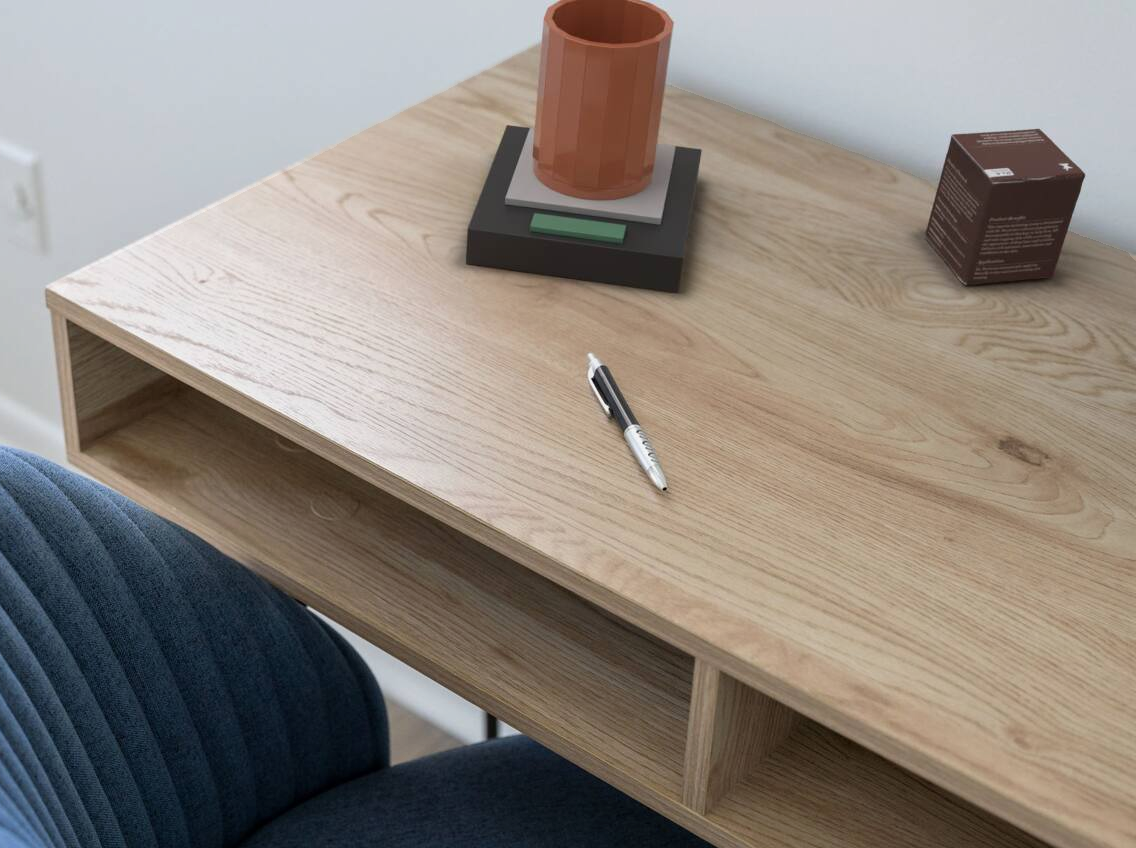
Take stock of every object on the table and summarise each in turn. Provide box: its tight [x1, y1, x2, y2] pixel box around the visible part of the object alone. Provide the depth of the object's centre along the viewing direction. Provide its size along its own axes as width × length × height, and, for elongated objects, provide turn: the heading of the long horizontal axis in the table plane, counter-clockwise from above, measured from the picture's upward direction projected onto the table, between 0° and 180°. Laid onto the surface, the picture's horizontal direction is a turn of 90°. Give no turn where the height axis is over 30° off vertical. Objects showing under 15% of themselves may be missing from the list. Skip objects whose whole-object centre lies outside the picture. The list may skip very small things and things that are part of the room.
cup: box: [532, 0, 675, 200], centre depth 99 cm, size 8×8×10 cm
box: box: [924, 128, 1086, 286], centre depth 99 cm, size 6×6×7 cm
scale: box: [465, 124, 703, 294], centre depth 102 cm, size 13×14×3 cm
